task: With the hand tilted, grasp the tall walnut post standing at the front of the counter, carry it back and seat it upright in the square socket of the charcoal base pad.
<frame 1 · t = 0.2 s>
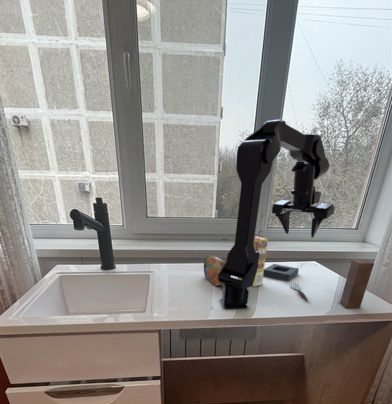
hand: (299, 235, 97), 15 cm above the worktop, tool pointing down, fingers open, 9 cm apart
base pad: (280, 275, 108), on the worktop
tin: (214, 282, 100), on the worktop
fork: (299, 293, 92), on the worktop
walnut post: (349, 305, 83), on the worktop
candy box: (249, 282, 100), on the worktop
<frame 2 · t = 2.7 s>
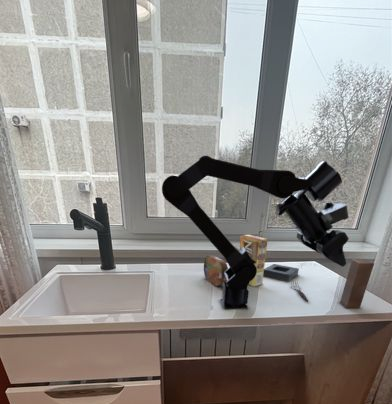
hand: (336, 260, 77), 13 cm above the worktop, tool tilted 45°, fingers open, 9 cm apart
nothing on the worktop moved.
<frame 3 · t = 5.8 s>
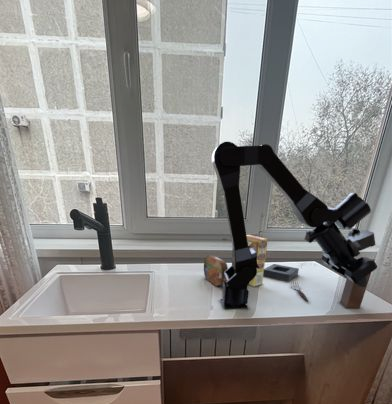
hand: (361, 283, 80), 7 cm above the worktop, tool tilted 45°, fingers closed on walnut post, 4 cm apart
walnut post: (349, 305, 83), on the worktop, touching gripper
everything else where it was.
when the fingers open (7 cm above the worktop, at t = 14.7 s): walnut post stays where it is, resting in base pad.
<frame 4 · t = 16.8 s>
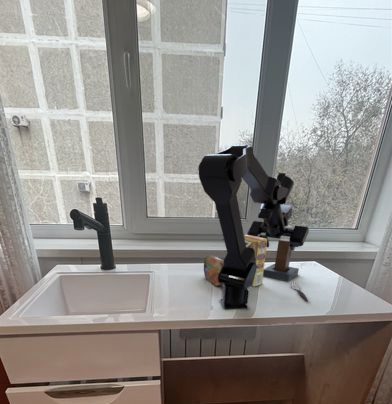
hand: (280, 248, 99), 11 cm above the worktop, tool tilted 45°, fingers open, 9 cm apart
walnut post: (280, 275, 108), resting in base pad
candy box: (249, 282, 100), on the worktop, touching gripper
everything else where it was.
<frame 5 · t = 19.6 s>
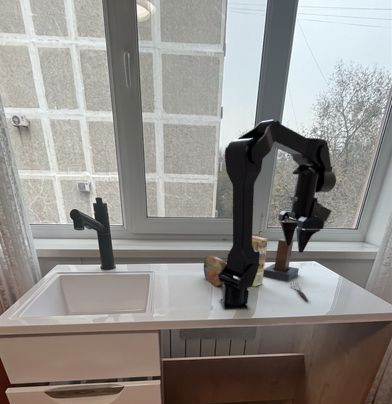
hand: (294, 248, 89), 13 cm above the worktop, tool pointing down, fingers open, 9 cm apart
candy box: (249, 282, 100), on the worktop
everything else where it was.
at the end: walnut post 0.1 cm off-centre in the base pad, point 0.0 cm above the base pad's base; walnut post tilted 0°; the gripper is holding nothing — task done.
